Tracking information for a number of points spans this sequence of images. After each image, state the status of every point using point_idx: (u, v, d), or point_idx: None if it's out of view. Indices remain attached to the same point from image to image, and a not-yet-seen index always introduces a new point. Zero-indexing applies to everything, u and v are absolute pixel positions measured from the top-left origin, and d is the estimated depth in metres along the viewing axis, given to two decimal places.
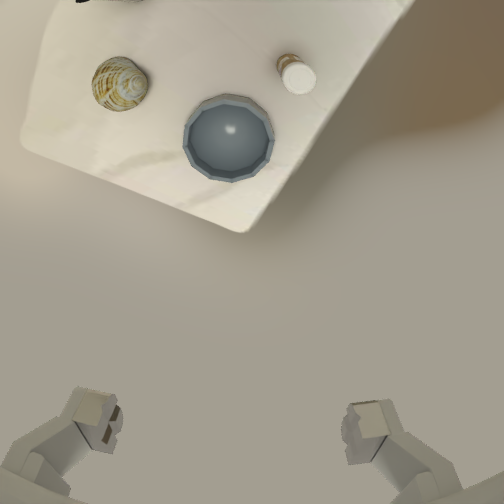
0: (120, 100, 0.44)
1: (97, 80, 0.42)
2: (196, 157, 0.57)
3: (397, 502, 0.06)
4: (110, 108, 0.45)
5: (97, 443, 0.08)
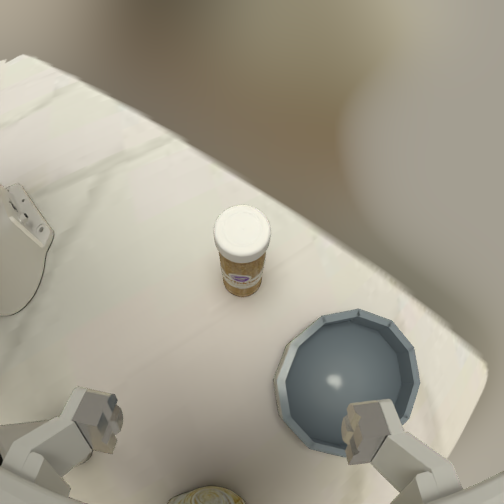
0: None
1: None
2: None
3: (397, 502, 0.06)
4: None
5: (97, 443, 0.08)
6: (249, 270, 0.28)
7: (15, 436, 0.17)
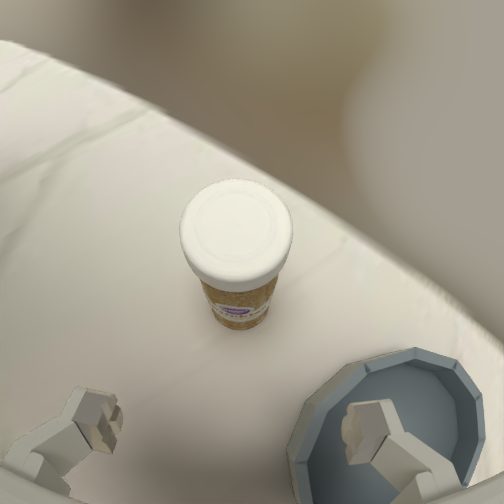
0: None
1: None
2: None
3: (397, 502, 0.06)
4: None
5: (97, 443, 0.08)
6: (250, 301, 0.16)
7: None
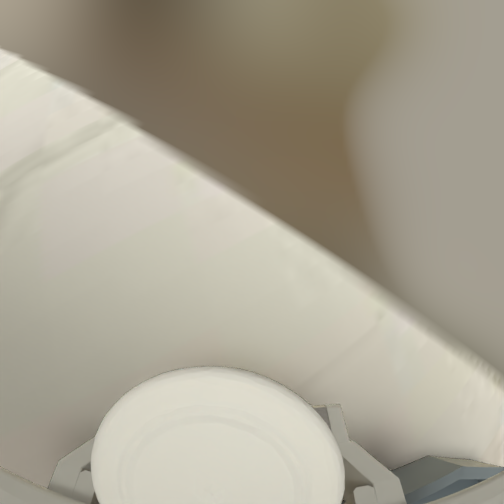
0: None
1: None
2: None
3: None
4: None
5: None
6: None
7: None
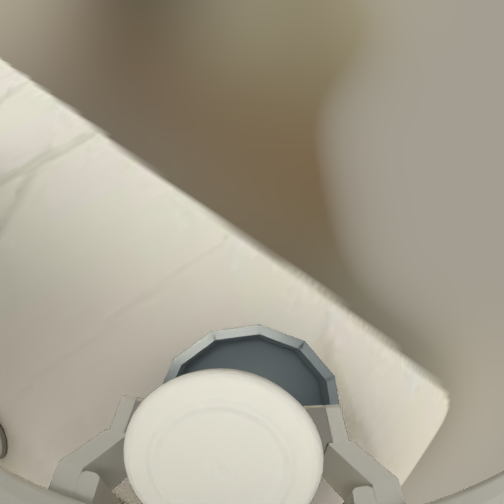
0: None
1: None
2: None
3: None
4: None
5: None
6: None
7: None
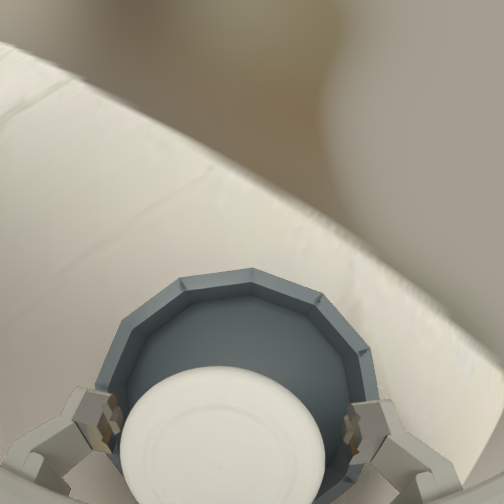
0: None
1: None
2: None
3: (397, 502, 0.06)
4: None
5: (97, 443, 0.08)
6: None
7: None
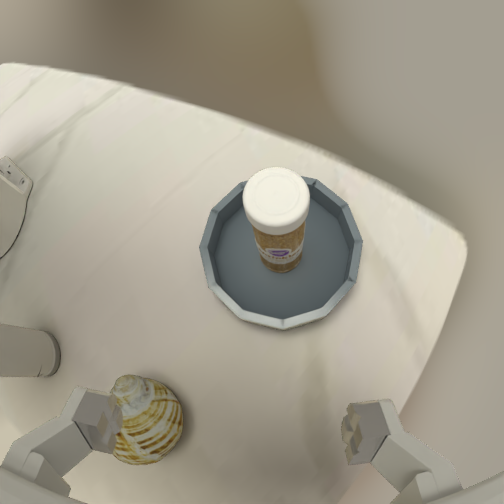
0: (142, 419, 0.25)
1: None
2: None
3: (397, 502, 0.06)
4: (158, 443, 0.24)
5: (97, 443, 0.08)
6: (288, 243, 0.24)
7: None
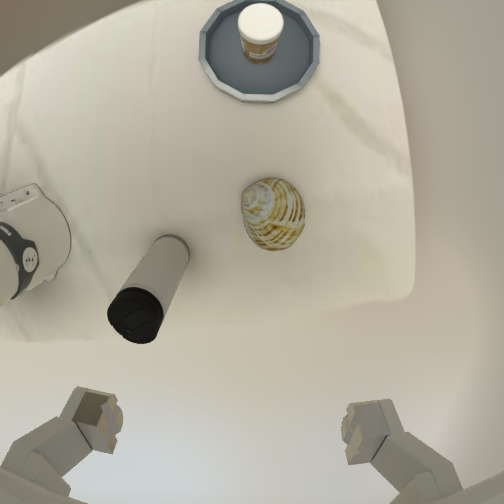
0: (278, 204, 0.40)
1: (275, 244, 0.43)
2: (309, 66, 0.37)
3: (397, 502, 0.06)
4: (298, 209, 0.41)
5: (97, 443, 0.08)
6: (277, 40, 0.29)
7: (135, 274, 0.37)
